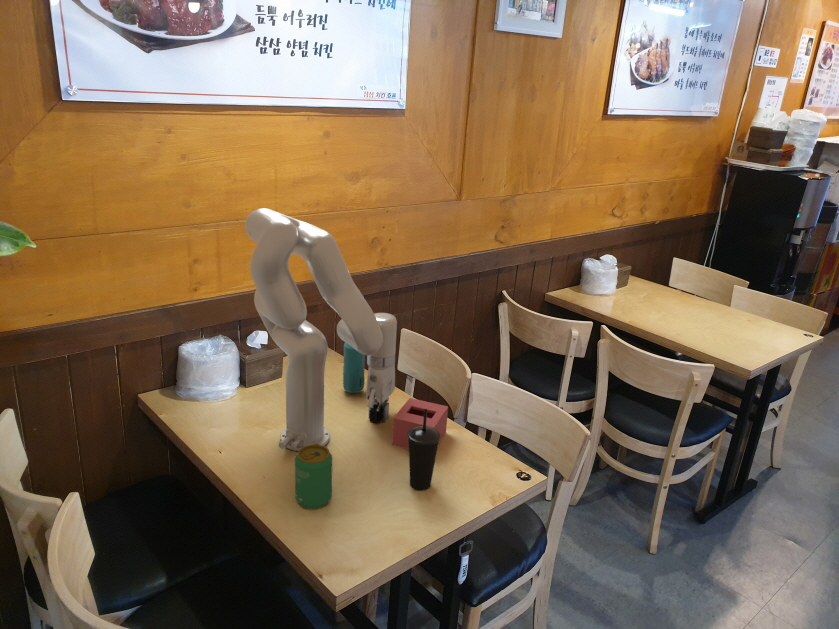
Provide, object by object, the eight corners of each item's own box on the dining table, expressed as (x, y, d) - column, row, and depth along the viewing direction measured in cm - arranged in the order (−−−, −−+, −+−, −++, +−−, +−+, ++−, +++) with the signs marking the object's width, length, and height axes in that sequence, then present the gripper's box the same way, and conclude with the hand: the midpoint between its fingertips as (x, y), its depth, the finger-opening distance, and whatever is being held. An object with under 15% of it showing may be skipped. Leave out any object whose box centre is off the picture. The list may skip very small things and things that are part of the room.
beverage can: (337, 503, 138) (338, 457, 134) (304, 514, 134) (303, 467, 130) (322, 484, 144) (322, 439, 140) (289, 494, 140) (289, 448, 136)
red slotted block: (431, 455, 158) (433, 427, 156) (391, 444, 162) (393, 417, 159) (445, 432, 169) (448, 406, 166) (408, 423, 172) (409, 397, 170)
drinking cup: (413, 497, 142) (418, 420, 135) (398, 479, 148) (403, 404, 141) (442, 489, 145) (449, 414, 138) (426, 472, 151) (432, 399, 144)
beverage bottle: (360, 398, 184) (362, 336, 177) (339, 395, 185) (340, 333, 178) (366, 389, 190) (369, 328, 183) (346, 386, 191) (347, 325, 184)
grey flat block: (385, 422, 172) (385, 406, 171) (368, 418, 174) (369, 402, 172) (388, 418, 174) (389, 402, 173) (372, 414, 176) (372, 399, 174)
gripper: (381, 373, 159) (379, 435, 165) (405, 349, 174) (401, 407, 180) (355, 367, 161) (353, 429, 168) (380, 344, 176) (378, 402, 183)
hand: (378, 417), depth 174 cm, fingers open, 4 cm apart
